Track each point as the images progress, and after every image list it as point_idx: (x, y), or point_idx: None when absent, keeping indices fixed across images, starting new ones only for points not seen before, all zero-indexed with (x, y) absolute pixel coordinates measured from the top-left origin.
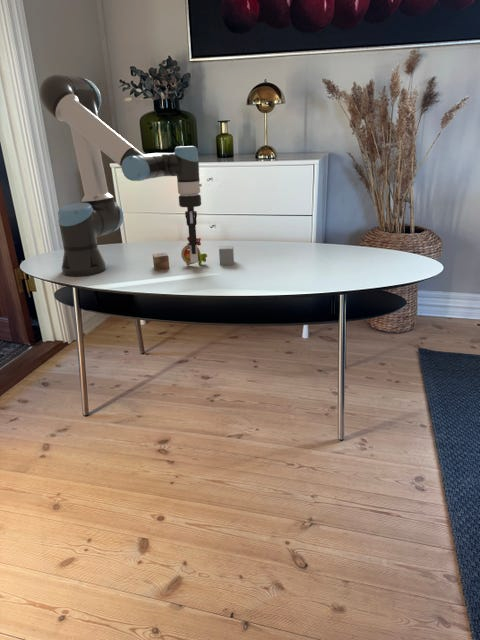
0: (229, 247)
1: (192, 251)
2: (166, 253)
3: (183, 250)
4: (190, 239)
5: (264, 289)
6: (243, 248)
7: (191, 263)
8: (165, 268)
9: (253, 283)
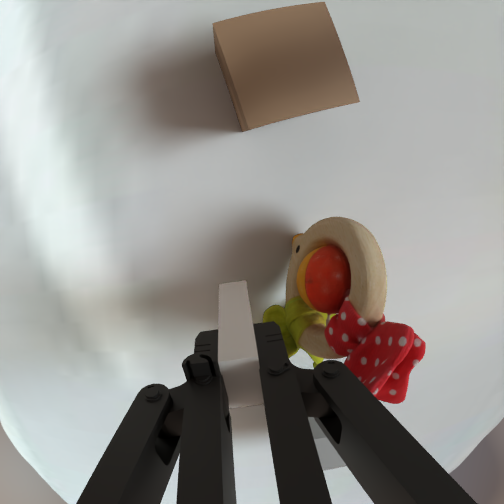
0: (322, 463)
1: (196, 349)
2: (330, 105)
3: (349, 248)
4: (126, 426)
5: (32, 451)
6: (480, 392)
7: (288, 268)
8: (234, 107)
9: (63, 447)
